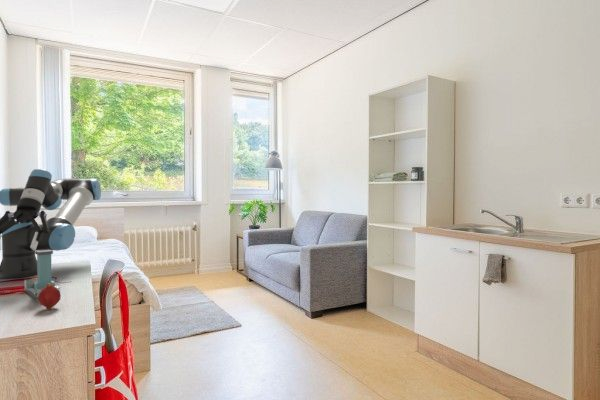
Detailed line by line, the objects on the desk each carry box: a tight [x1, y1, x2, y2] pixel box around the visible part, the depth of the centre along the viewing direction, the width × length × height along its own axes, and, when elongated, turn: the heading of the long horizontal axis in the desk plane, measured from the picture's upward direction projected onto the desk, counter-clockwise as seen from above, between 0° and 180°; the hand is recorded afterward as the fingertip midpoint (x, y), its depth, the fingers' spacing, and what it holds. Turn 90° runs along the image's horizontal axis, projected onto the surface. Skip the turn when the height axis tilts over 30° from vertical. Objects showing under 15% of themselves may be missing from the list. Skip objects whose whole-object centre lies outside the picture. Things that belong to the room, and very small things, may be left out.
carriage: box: [34, 250, 56, 291], centre depth 129 cm, size 4×5×13 cm
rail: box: [23, 277, 61, 303], centre depth 132 cm, size 22×6×4 cm, turn 47°
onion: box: [37, 283, 62, 310], centre depth 116 cm, size 6×6×8 cm
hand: (12, 249), depth 137 cm, fingers open, 13 cm apart
